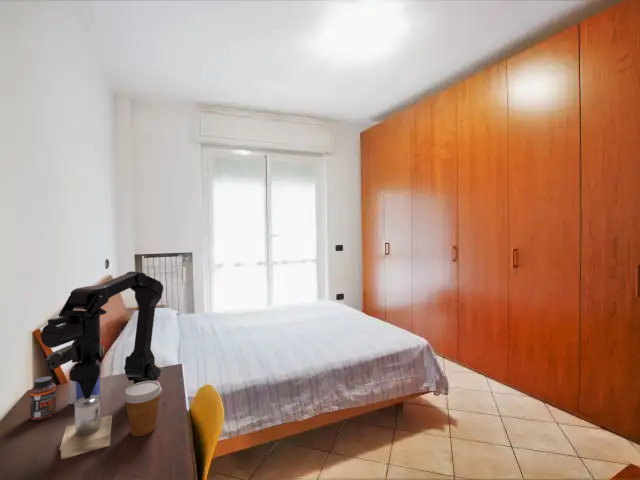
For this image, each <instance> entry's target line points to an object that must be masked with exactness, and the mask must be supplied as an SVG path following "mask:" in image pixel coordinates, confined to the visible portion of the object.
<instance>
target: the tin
mask: <svg viewBox="0 0 640 480" xmlns="http://www.w3.org/2000/svg"><path fill="white" fill-rule="evenodd" d="M73 406H74V424H75V435H76V436H78V437H84V436H88V435H91V434H93V433H95V432H97V431H98V430H99V429H100V427H101V423H100V418H101V395H100V396H99V395H91V396H90V398H89V399H85V398H84V397H83V398H80V399H78V400H77V401H76V402H75V403H74V404H73Z"/></svg>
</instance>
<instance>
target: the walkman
mask: <svg viewBox="0 0 640 480" xmlns="http://www.w3.org/2000/svg"><path fill="white" fill-rule="evenodd" d="M70 369H71V367H70V368H69V372H70ZM69 372H68V373H69ZM100 378H101V375H100V376H99V378H98V380H97V382H96V385H95V387H94V389H93V392H92V394H91V395H99V396H100V397H101V379H100ZM68 380H69V379H68ZM68 382H69V404H70V405H74V403H75V402H76V401H77V400H78V399H80V398H83V397H84V396H83V393H82V390H81V387H80V385H79V383H78V382H75V381H71V380H69V381H68Z"/></svg>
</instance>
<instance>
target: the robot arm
mask: <svg viewBox="0 0 640 480" xmlns="http://www.w3.org/2000/svg"><path fill="white" fill-rule="evenodd" d="M129 289H130V290H132V292H134V299H135V301H136V303H137V305H138V310H137V311H138V313H137V321H136V329H135V330H136V331H135V339H134V346H133V350H132V352H130V354H129V356H128V355H126V357H125V364H124V368H123V370H124V374H125V375H126V378H127V380H128V382H129V381H130V382H131V381H132V382H133V383H131V386H132V385H134V384H136V383H139V382H144V381H157V380H158V379H159V378H160V376H161V372H162V371H161V369H160V367H158V366H157V365H156V362H155V361H156V360H155V359H156V358H155V355H154V353H153V352H152V349H151V348H152V340H153V330H154V321H155V320H154V319H155V312H156V311H155V310H156V306H157V305H158V303H159V302H160V301H161V299H162V296H163V291H164V285H163V284H162V282H161V281H160V280H158V279H156V278H154V277H151V276H149V275H147V274H146V273H144V272H142V271H128V272H126V273H124V274H123V275H120V276H119V275H118V276H117V277H115V278H112V279H110V280H108V281H105V282H103V283H100V284H96V285H88V286H82V287H77V288H75V289H73V290H72V291H71V292H70V295H69V296H68V298H67V300H66V301H65V303H64V305H63V306H62V308H61V309H60V312H59V313H58V317H54V318H49V319H47V325H45V326H44V327H43V328H42V330H41V332H40V340H41V342H42V344H43V345H44V346H45V347H46V348H49V349H53V348H57V347H59V346H63V345H65V344H68V343H70V342H72V343H71V344H70V345H67V346H65V347H62V348H59V349H58V350H56V351H55V350H54V351H53V352H51V353H50V354H48V356H47V357H46V359H45V360H46V362H47V363H46V365H47V367H50V369H51V370H56V369H58V368H59V367H61V366H63V365H65V364H67V363H69V362H71V363H72V364H73V363H74V364H73V365H72V366H71V367H70V368H71V369H70V368H69V369H70V372H68V373H69V374H68V375H69V379H68V380H71V381H75V382H78V383H79V385H80V387H81V390H82V393H83V396H84V398H85V399H89V398H90V396H91V394H92V392H93V389H94V387H95V385H96V382H97V380H98V378H99V376H100V377H101V371H102V368H101V367H102V366H101V365H102V361H103V357H104V352H105V351H104V345H103V344H101V342H102V341H101V339H102V334H101V316H103V315H106V314H107V310H104V308H102V307H104V306H105V305H106V304H107V303H109V300H110V299H111V298H112V297H114V296H116V295H118V294H120V293H123V292H124V291H126V290H129Z"/></svg>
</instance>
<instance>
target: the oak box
mask: <svg viewBox="0 0 640 480" xmlns="http://www.w3.org/2000/svg"><path fill="white" fill-rule="evenodd" d="M112 420H113V415H107V416H103V417H100V423H101V427H100V429H99V430H98V431H97V432H95V433H93V434H91V435H88V436H84V437H78V436H76V435H75V423H74V424H71V425H67V426H66V428H65V430H64V434H63V437H62V440H61V444H60V446H59V451H60V459H61V460H65V459H68V458H72V457H75V456H78V455H81V454H86V453H88V452H92V451H96V450H99V449H102V448H103V449H104V448H106V447H109V446H110V445H111V434H112V432H111V431H112V422H113V421H112Z"/></svg>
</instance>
